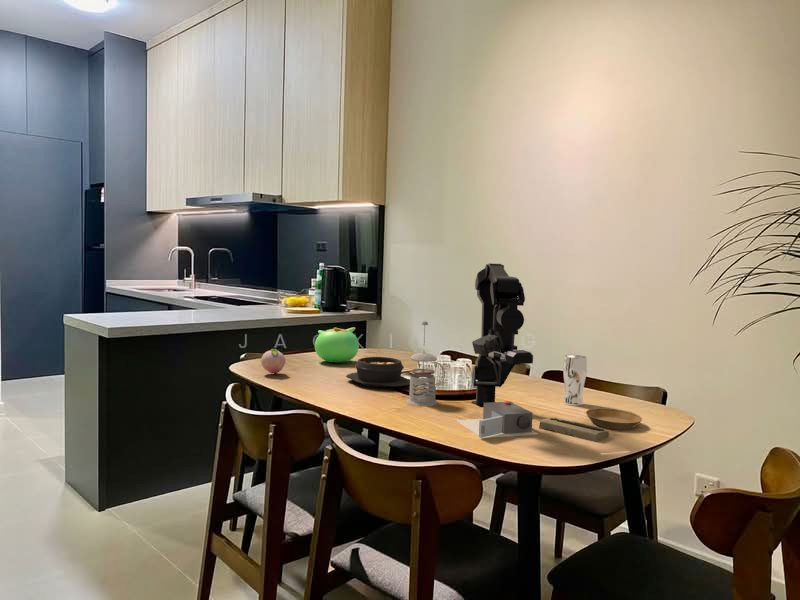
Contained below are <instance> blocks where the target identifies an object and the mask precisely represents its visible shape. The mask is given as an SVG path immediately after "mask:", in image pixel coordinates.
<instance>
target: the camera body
mask: <svg viewBox="0 0 800 600" xmlns="http://www.w3.org/2000/svg"><path fill="white" fill-rule="evenodd" d="M482 408H483V410H482V411H483V413H482V419H488V418H492V417H497V416H504V424H503V434H509V433H524V432H532V430H533V412H532V411H530V410H527V409H526V408H524V407H522V406H520V405H518V404H515V403H513V401H509V400H506V401H505V400H504V401H495V402H490V403H484V407H482Z"/></svg>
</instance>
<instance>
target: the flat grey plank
mask: <svg viewBox="0 0 800 600" xmlns="http://www.w3.org/2000/svg"><path fill="white" fill-rule="evenodd" d="M538 429H540V430H544V431H545V430H548V431H552V432H554V433H556V434H560V435H564V436H569V437H573V438H578V439H582V440H586V441H590V442H592V443H593V442H594V443H597V442H600V441H602V440H604V439H608V438H609V436H610V431H609V430H606V429H604V428H600V427H597V426H592V425H588V424H584V423H580V422H575V421H574V422H573V421H570V420H565V419H559V418H557V417H550V418H549V417H547V418H543V419H540V420H539V427H538Z"/></svg>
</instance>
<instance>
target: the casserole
mask: <svg viewBox="0 0 800 600" xmlns="http://www.w3.org/2000/svg"><path fill="white" fill-rule="evenodd" d="M402 363H403V362H402V361H401V360H400V359H399V358H398V359H397V358H393V357H387V356H385V357H384V356H369V357H368V356H367V357H362V358H359V359H358V360H357V362H356V364H355V365H354V368H355V369H356V372H352V373H351V372H350V373H348V374H347V375H345V378H347V379H350V380H353V381H354V382H356V383H359V384H361V385H364V386H366V387H370V388H389V387H395V388H397V387H404V385H405V386H408V385H409V386H410V378H406V377H404V376H402V371H403V370H404V365H403V364H402Z"/></svg>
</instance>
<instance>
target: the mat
mask: <svg viewBox="0 0 800 600" xmlns="http://www.w3.org/2000/svg"><path fill="white" fill-rule="evenodd" d="M479 420H483V418H474V419H457V420H456V422H458V423H459V424H461V425H462V426H464V427H465V428H467V429H468V430H469V431H470V432H472V433H474V434H476V436H478V437H479ZM532 435H534V436H535V435H539V433H538V432H537V431H534V430H533V429H532V432H524V433H509V434H503V433H500V434H496V435H491V436H487V437H483V438H482V439H489V438H502V437H504V438H505V437H516V436H519V437H521V436H532Z"/></svg>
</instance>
